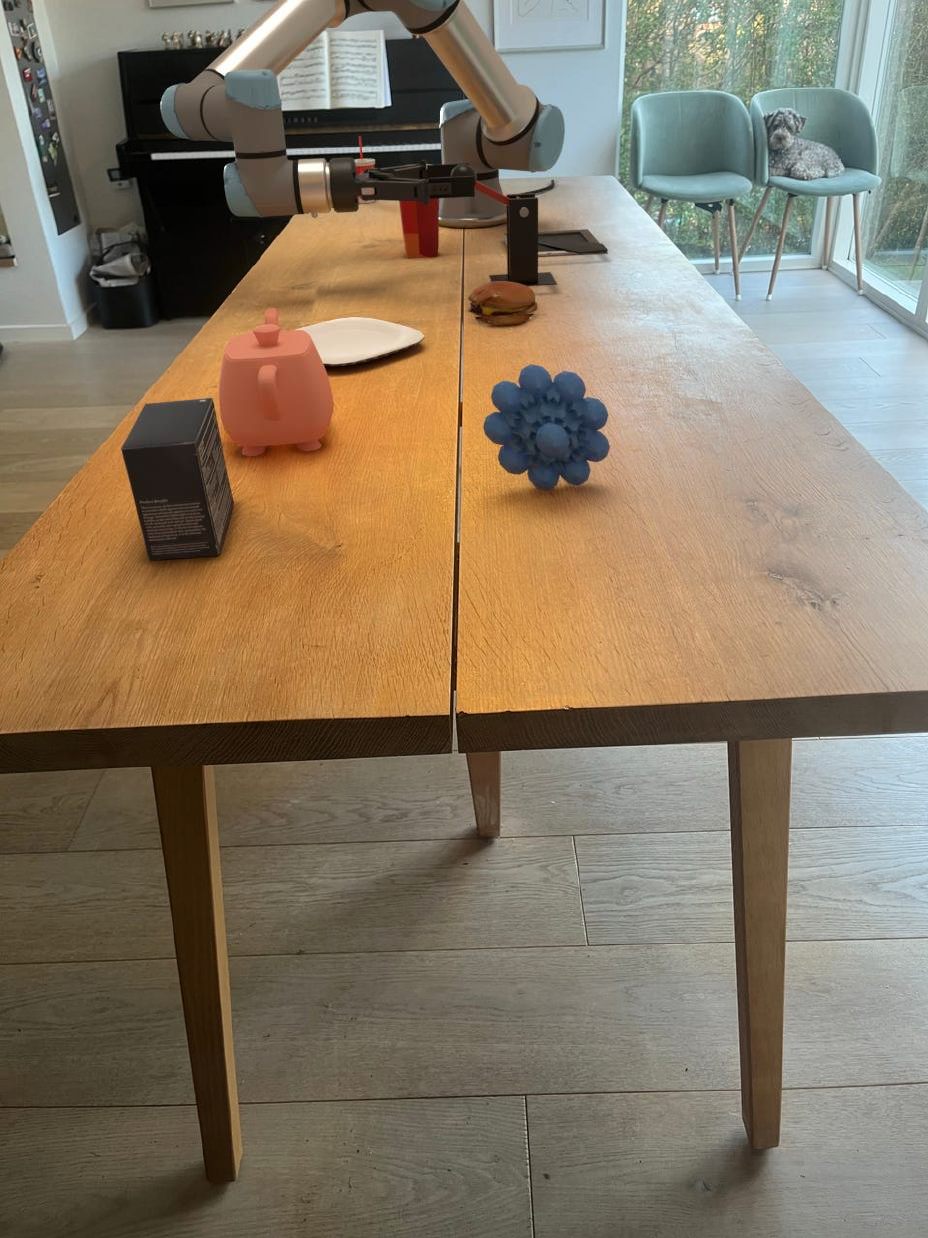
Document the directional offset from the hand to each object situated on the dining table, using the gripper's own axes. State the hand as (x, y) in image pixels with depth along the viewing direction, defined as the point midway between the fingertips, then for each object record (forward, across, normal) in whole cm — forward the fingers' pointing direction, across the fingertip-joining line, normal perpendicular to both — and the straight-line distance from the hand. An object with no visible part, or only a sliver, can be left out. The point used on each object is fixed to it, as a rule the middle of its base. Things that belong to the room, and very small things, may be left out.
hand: (471, 178), depth 149 cm
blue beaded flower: (+2, +77, -17) cm, 79 cm away
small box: (-30, +81, -17) cm, 88 cm away
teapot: (-25, +59, -17) cm, 66 cm away
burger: (+3, +16, -17) cm, 24 cm away
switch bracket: (+8, 0, -17) cm, 18 cm away
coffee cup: (-8, -29, -17) cm, 34 cm away
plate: (-19, +28, -17) cm, 38 cm away
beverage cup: (-21, -91, -17) cm, 95 cm away
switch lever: (+2, 0, -4) cm, 4 cm away
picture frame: (+16, -26, -17) cm, 35 cm away
